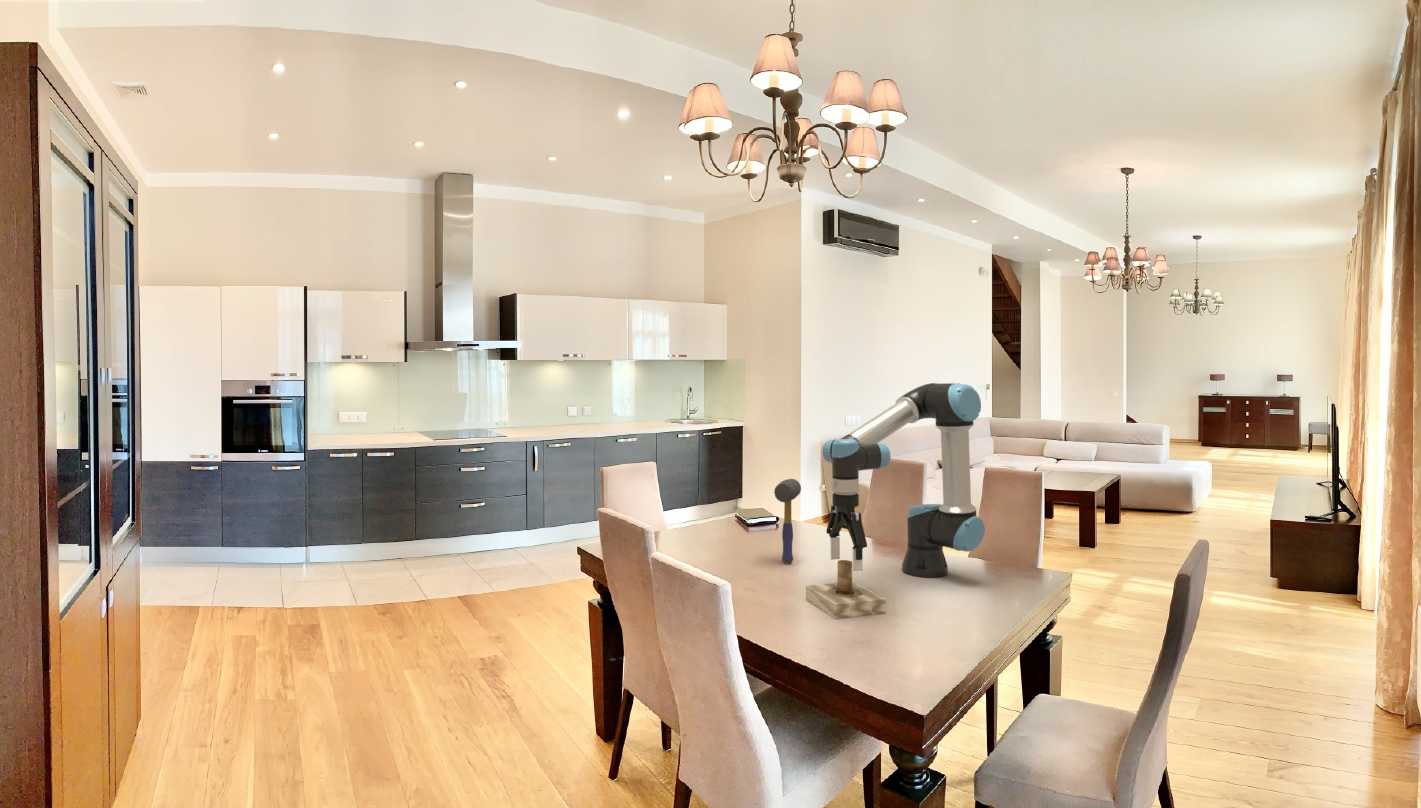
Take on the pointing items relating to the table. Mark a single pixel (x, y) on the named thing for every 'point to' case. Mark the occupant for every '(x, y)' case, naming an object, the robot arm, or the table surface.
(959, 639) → the table surface
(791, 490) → the rubber mallet
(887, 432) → the robot arm
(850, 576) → the peg
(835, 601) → the board
